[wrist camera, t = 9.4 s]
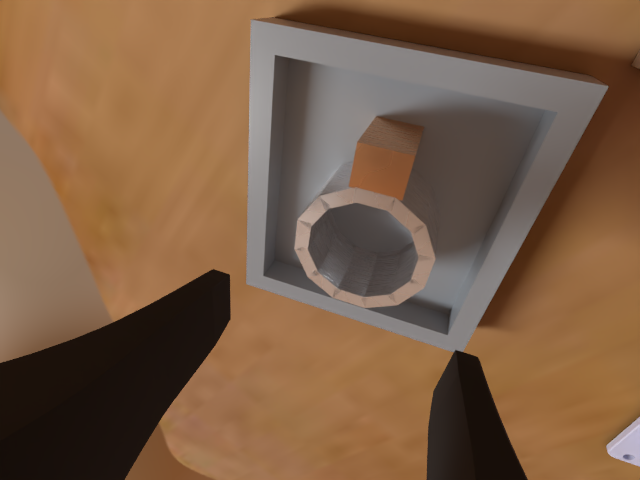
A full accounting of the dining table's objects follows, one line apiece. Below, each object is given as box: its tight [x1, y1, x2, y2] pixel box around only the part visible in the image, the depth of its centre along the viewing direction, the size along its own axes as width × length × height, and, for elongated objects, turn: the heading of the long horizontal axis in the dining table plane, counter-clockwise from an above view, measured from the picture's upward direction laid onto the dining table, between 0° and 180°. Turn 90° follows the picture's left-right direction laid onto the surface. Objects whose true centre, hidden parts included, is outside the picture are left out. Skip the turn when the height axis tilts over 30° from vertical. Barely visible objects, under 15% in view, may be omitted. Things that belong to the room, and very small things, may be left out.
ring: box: [294, 116, 440, 308], centre depth 16 cm, size 6×7×4 cm
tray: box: [246, 17, 609, 352], centre depth 17 cm, size 12×13×2 cm
